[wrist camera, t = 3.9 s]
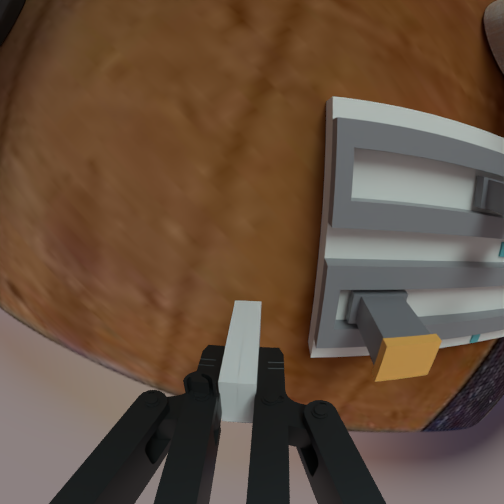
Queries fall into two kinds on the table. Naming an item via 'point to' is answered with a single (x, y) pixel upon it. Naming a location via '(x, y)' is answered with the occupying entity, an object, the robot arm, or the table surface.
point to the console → (407, 224)
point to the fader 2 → (489, 194)
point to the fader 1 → (392, 334)
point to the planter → (495, 31)
